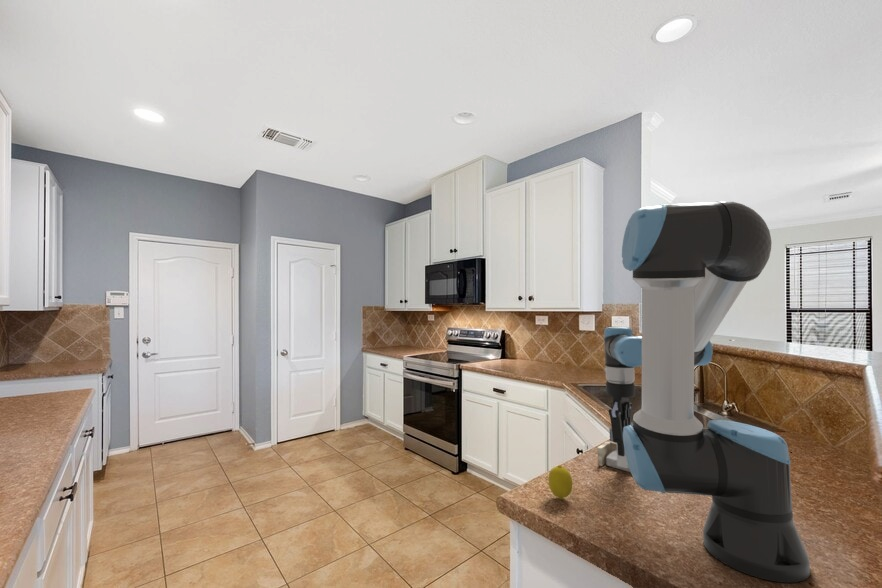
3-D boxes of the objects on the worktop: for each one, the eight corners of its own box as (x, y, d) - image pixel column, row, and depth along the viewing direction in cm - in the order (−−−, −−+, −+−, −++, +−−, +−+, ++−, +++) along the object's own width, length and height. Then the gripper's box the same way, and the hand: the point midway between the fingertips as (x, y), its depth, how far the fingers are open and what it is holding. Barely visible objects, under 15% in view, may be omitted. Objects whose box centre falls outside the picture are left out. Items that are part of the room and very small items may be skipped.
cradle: (652, 478, 103) (651, 459, 104) (597, 464, 113) (597, 447, 113) (660, 469, 109) (659, 451, 110) (608, 456, 119) (607, 440, 120)
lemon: (562, 492, 97) (561, 459, 97) (577, 502, 92) (576, 467, 92) (544, 496, 95) (543, 463, 95) (558, 506, 90) (557, 471, 90)
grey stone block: (608, 477, 113) (599, 458, 114) (616, 465, 117) (607, 447, 118) (642, 477, 106) (632, 457, 106) (649, 464, 110) (639, 445, 111)
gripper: (614, 377, 117) (617, 456, 116) (598, 383, 107) (600, 469, 106) (641, 379, 112) (644, 463, 111) (626, 386, 102) (629, 477, 101)
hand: (623, 466), depth 108 cm, fingers closed
